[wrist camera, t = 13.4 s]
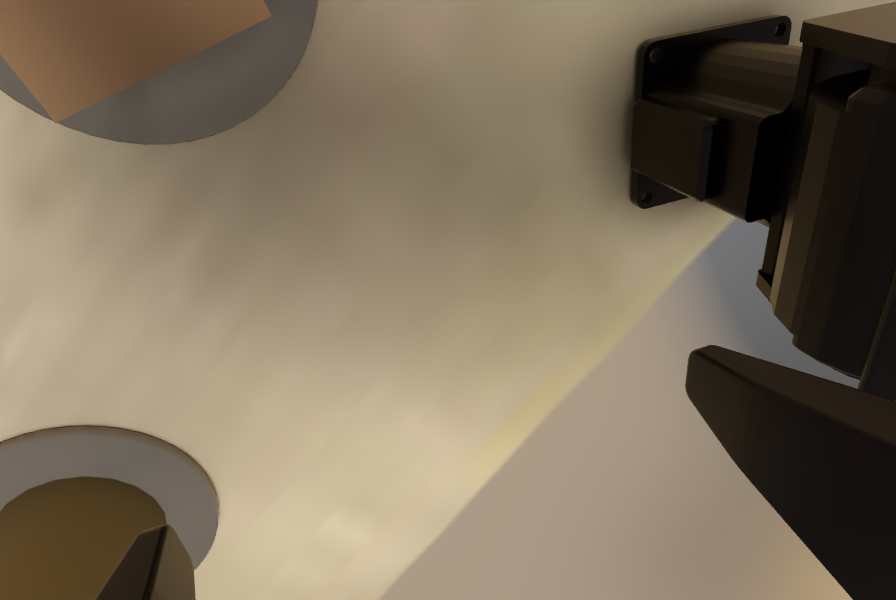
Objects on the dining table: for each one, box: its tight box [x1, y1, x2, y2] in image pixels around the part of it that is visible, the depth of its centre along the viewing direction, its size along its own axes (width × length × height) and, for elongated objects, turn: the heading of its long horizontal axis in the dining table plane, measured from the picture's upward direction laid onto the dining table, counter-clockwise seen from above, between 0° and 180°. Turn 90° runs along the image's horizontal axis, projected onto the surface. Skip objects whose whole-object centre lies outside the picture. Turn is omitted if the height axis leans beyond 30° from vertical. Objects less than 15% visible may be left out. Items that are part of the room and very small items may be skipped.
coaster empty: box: [0, 426, 218, 570], centre depth 23 cm, size 10×10×1 cm
